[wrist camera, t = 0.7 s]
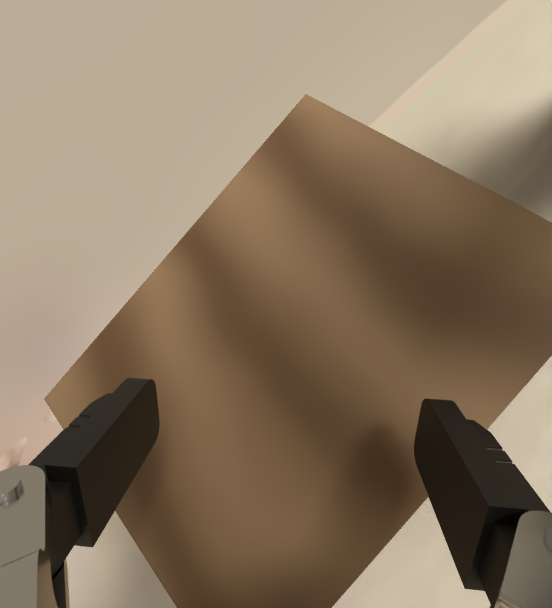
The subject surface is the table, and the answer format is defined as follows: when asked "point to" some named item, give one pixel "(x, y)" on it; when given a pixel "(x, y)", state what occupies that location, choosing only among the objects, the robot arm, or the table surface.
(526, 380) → the wooden stand
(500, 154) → the table surface
